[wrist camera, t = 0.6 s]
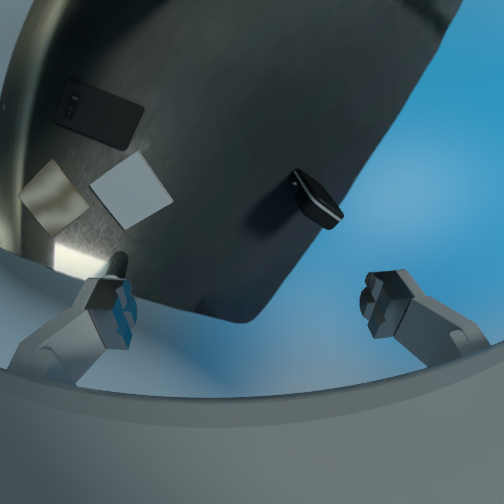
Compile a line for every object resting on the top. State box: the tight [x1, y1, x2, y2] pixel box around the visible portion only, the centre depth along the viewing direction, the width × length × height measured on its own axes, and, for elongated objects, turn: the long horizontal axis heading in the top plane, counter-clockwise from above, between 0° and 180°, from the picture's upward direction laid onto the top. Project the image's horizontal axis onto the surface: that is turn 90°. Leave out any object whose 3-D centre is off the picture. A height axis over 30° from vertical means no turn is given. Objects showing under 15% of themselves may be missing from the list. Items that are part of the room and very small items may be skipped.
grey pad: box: [90, 150, 173, 230], centre depth 46 cm, size 11×11×1 cm
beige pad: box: [18, 159, 89, 238], centre depth 44 cm, size 12×12×1 cm
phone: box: [53, 80, 145, 150], centre depth 37 cm, size 8×1×15 cm
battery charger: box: [290, 169, 344, 230], centre depth 45 cm, size 7×4×11 cm, turn 54°
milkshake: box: [102, 251, 128, 279], centre depth 50 cm, size 4×5×10 cm
